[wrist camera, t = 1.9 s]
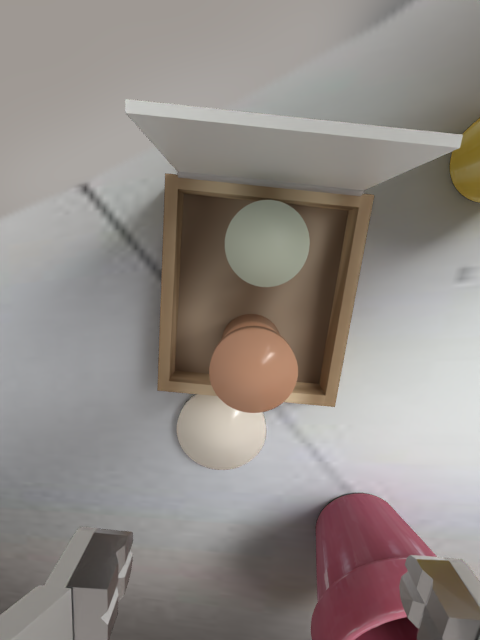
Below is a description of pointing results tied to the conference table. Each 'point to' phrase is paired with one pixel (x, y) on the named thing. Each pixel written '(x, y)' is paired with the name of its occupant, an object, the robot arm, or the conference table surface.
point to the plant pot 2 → (467, 164)
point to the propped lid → (284, 147)
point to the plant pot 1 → (362, 570)
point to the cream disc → (219, 433)
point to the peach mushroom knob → (253, 365)
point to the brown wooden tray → (243, 298)
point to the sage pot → (267, 243)
